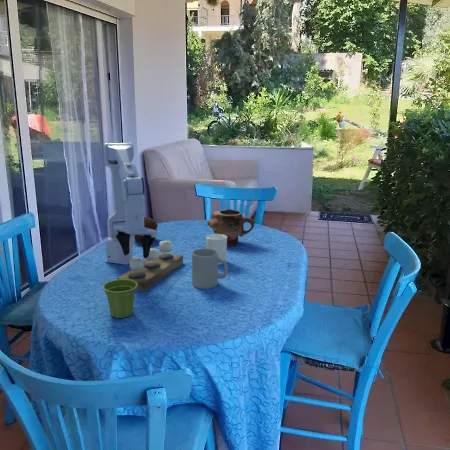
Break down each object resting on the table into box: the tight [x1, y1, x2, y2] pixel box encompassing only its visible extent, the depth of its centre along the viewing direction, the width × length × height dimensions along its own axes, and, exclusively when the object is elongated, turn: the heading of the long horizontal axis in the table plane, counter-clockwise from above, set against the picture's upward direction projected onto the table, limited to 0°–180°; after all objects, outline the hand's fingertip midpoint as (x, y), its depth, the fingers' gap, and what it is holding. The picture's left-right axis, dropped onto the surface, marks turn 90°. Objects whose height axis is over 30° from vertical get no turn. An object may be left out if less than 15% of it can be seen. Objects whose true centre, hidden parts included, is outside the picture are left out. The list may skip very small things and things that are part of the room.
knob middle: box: [145, 247, 159, 261], centre depth 155 cm, size 4×4×3 cm
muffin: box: [133, 216, 159, 244], centre depth 194 cm, size 12×11×10 cm
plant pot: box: [102, 279, 138, 319], centre depth 126 cm, size 9×9×9 cm
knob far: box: [158, 240, 173, 253], centre depth 164 cm, size 4×4×3 cm
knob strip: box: [116, 251, 184, 292], centre depth 156 cm, size 10×28×3 cm, turn 159°
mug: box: [191, 248, 229, 290], centre depth 147 cm, size 12×8×11 cm
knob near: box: [129, 256, 144, 271], centre depth 146 cm, size 4×4×3 cm
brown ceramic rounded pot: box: [207, 208, 256, 247], centre depth 190 cm, size 20×12×14 cm, turn 85°
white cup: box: [205, 233, 228, 266], centre depth 168 cm, size 8×8×10 cm
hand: (136, 255), depth 145 cm, fingers open, 7 cm apart
